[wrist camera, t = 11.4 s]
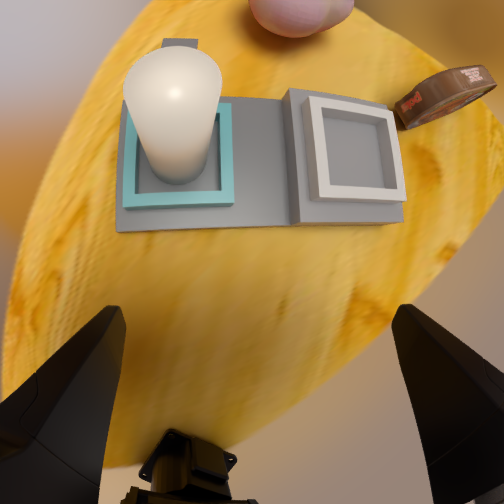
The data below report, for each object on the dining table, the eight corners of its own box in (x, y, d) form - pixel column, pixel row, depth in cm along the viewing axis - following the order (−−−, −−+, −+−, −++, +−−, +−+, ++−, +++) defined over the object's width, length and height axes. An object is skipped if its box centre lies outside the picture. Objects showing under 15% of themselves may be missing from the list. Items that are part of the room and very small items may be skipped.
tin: (391, 137, 25) (451, 105, 17) (375, 108, 25) (430, 69, 17) (461, 109, 28) (508, 87, 20) (449, 87, 28) (494, 61, 20)
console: (119, 232, 20) (102, 226, 16) (125, 105, 20) (114, 76, 16) (382, 225, 25) (415, 220, 20) (368, 117, 25) (396, 98, 20)
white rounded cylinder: (205, 185, 21) (219, 127, 11) (147, 184, 20) (115, 126, 10) (208, 121, 21) (225, 34, 11) (154, 120, 20) (136, 32, 10)
